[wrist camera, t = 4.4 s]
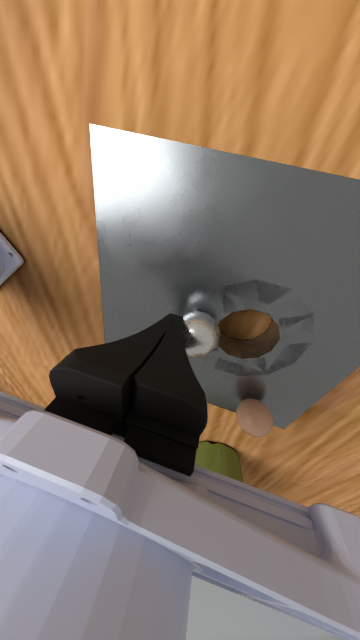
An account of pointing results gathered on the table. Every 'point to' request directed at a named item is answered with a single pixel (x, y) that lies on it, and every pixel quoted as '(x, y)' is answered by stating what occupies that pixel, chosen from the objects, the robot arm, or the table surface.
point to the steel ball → (200, 334)
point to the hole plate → (232, 262)
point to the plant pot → (219, 460)
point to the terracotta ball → (254, 417)
